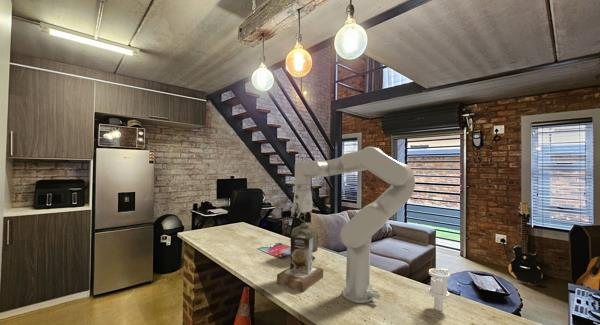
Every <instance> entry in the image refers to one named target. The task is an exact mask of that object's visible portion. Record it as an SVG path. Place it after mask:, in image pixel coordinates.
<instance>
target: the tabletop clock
mask: <svg viewBox="0 0 600 325" xmlns="http://www.w3.org/2000/svg"><path fill="white" fill-rule="evenodd" d="M301 217H305V214H300V216H299V218H300V221H301V222H300V226H299V227H297V226H294V227H293V228H292V229H291V232H290V237H291V236H293V235H294V234H302V235H310V236H313V247H312V260H315V259H316V256H313V253H315V252H317V251H318V248H319V232H318V229H317V228H315V227H313V226H310V225H309V224H308V222H305V219H302V218H301ZM289 239H290V240H289V241H290V242H291V238H289Z"/></svg>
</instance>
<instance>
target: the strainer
mask: <svg viewBox="0 0 600 325" xmlns="http://www.w3.org/2000/svg"><path fill="white" fill-rule="evenodd" d="M436 273H440V274H444V275H439V274H436ZM428 275H429V276H431V277H430V287H429V288H428V294H429V295H431V297H433V302H434V304H433V309H435V310H436V311H440V312H442V311H444V300H448V299H449V298H450V292H449V291H448V281H447V280H449V279H450V278H451V274H450V271H449V269H448V268H430V269H428Z"/></svg>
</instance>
